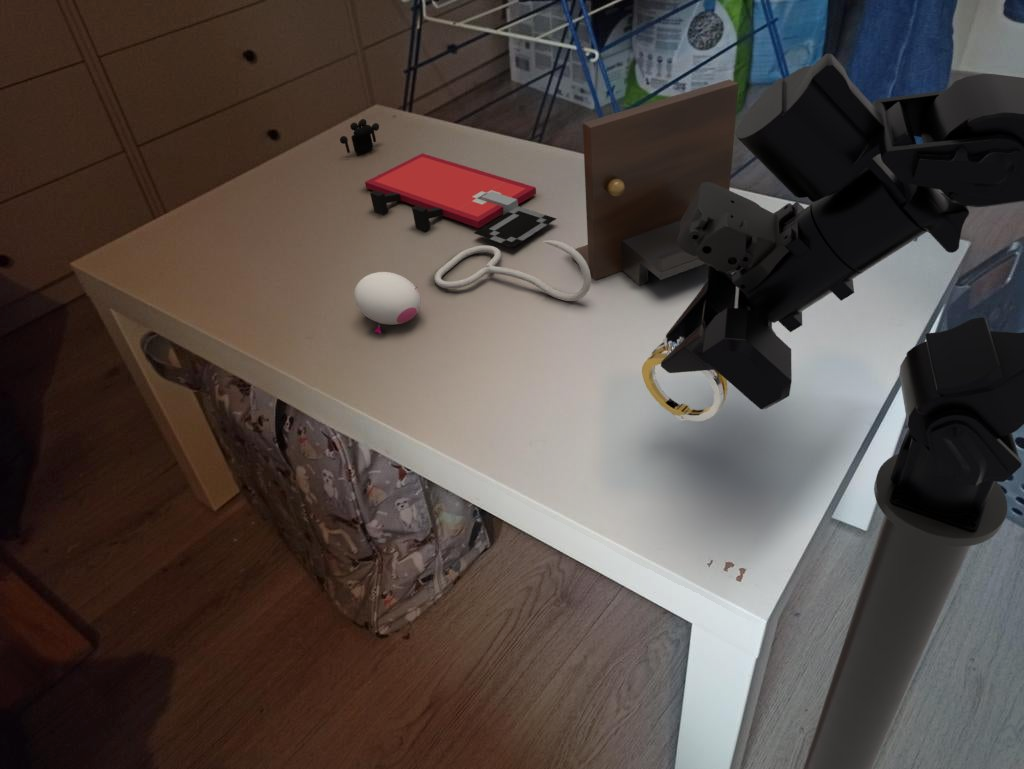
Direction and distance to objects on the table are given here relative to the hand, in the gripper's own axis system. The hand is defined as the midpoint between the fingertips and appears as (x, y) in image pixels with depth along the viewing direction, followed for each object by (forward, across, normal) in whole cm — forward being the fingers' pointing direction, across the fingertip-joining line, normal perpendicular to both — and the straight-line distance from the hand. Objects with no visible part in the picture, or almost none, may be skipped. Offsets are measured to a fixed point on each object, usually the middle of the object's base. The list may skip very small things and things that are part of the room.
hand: (667, 354), depth 63 cm
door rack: (+9, -30, +5) cm, 32 cm away
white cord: (+21, -23, -6) cm, 32 cm away
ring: (+4, 0, +6) cm, 7 cm away
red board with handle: (+30, -41, -15) cm, 53 cm away
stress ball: (+30, -16, -15) cm, 37 cm away
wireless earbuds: (+44, -57, -30) cm, 78 cm away
